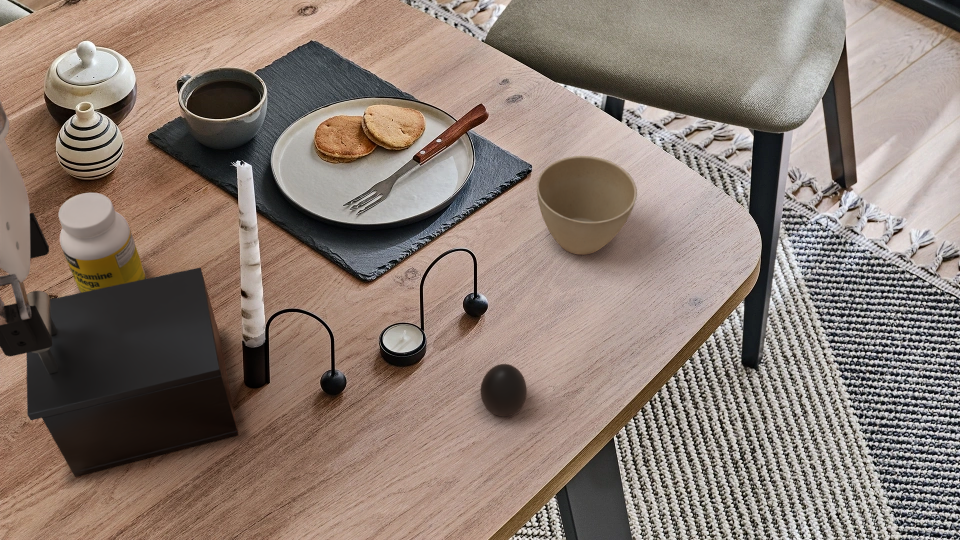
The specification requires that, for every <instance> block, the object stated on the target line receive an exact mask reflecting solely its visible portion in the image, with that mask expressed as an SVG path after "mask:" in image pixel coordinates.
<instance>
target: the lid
mask: <svg viewBox="0 0 960 540" xmlns="http://www.w3.org/2000/svg"><path fill="white" fill-rule="evenodd" d="M203 277H204V274H203V270H202V267H195V268H190V269H186V270H182V271H176V272H173V273H166V274H162V275H158V276H153V277H149V278H146V279H143V280H138V281H134V282H129V283H124V284H120V285H115V286H110V287H105V288H101V289H96V290H91V291H87V292H82V293H80V292H78V293H77V292H76V293H73V294H68V295H63V296H58V297H54V298H51V297H50V295H49V293H47V292H45V291H43V290H32V291H30V292H28V293H26V294H27V298H28V301H29V305H30V306H34V305H35V306H36V308H37V310H38V312H39V314H40V316H41V318H42V320H43V322H44V324H45V326H46V328H47V330H48V332H49V334H50V336H51V338H52V346H51V347H50V348H46V349H42V350H37V351H33V352H29V353H26V408H27V409H26V410H27V411H26V413H27V417H28V419H29V420H30V421H35V420H38V419H42V418H44V417H48V416H52V415H56V414H60V413H65V412H69V411H73V410H77V409H81V408H85V407H90V406H94V405H98V404H102V403H106V402H110V401H115V400H119V399H123V398H127V397H131V396H136V395H140V394H144V393H148V392H152V391H156V390H161V389H165V388H169V387H173V386H177V385H181V384H186V383H190V382H194V381H198V380H202V379H207V378H211V377H215V376H219V375H221V371H220V366H219V361H218V355H217V350H216V344H215V339H214V333H213V328H212V323H211V317H210V312H209V306H208V301H207V295H206V290H205V284H206V283H205V284H204V281H205V278H204V279H203Z"/></svg>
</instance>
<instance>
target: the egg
mask: <svg viewBox="0 0 960 540" xmlns="http://www.w3.org/2000/svg"><path fill="white" fill-rule="evenodd" d="M527 389H528V388H527V382H526V379H525V377H524V375H523V373H522V372H521V371H520V370H519V369H518V368H517V367H515V366H514V365H512V364H510V363H509V364H508V363H502V364H501V363H500V364H497V365H494V366H493V367H491V368H490V369H489V370H488V371H487V372H486V374H484V377H483V378H482V381H481V384H480V398H481V402H482V404H483V405H484V407H485V408H486V409H487V411H488V412H490V413H491V414H493V415H495V416H497V417H509V416H512V415H515V414H516V413H517V412H519V411H520V410H521V408H523V406H524V404H525V402H526V399H527V395H528V394H527V393H528V390H527Z"/></svg>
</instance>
